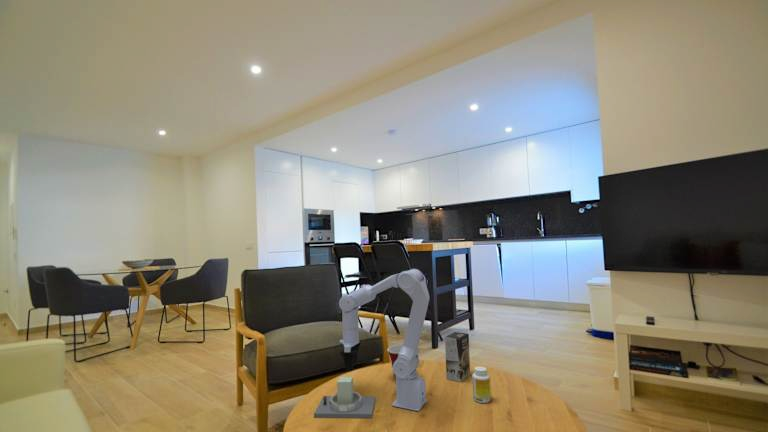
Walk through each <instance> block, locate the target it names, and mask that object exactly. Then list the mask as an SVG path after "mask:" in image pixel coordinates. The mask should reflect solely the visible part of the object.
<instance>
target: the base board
mask: <svg viewBox="0 0 768 432" xmlns="http://www.w3.org/2000/svg"><path fill="white" fill-rule="evenodd" d="M325 396H326V399H327V404H326V405H324V404H323V397H322V399H321V400H320V402H319V403H318V406H317V407H316V409H315V411H314V413H313V418H316V419H317V418H318V419H319V418H320V419H322V418H326V419H329V418H331V419H332V418H333V419H343V418H344V419H372V417H373V413H374V408H375V404H376V400H377V399H376V398H377V397H376V396H374V395H372V396H371V395H370V396H369V395H368V396H365V395H361V396H362V405H361V407H360V408H358V409H357V410H355V411H351V412H336V411H334V410H332V409H331V407H330V398H331V396H332V395H325ZM356 401H358V400H355V399H354V402H353V403H355V402H356ZM334 403H337V401H336V402H334ZM337 404H338V403H337Z"/></svg>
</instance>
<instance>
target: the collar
mask: <svg viewBox="0 0 768 432" xmlns="http://www.w3.org/2000/svg"><path fill="white" fill-rule="evenodd" d="M326 396H327V395H324V396H322V398H323V404H324V405H326V404H327V399H326ZM330 396H331V398H330V407H331V409H332V410H334V411H336V412H351V411H355V410H357V409H358V408H360V407H361V405H362V396H363V395H361V394H360V393H359V392H357V391H353V398H354V399H355V400H358V401H356V402H355V403H351V404H347V405H344V404H337V403H334V402H336V401H337V393H335V394H333V395H330Z"/></svg>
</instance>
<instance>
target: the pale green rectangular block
mask: <svg viewBox="0 0 768 432" xmlns="http://www.w3.org/2000/svg"><path fill="white" fill-rule="evenodd" d="M336 392H337V403H338V404H344V405H347V404H351V403H353V402H354V398H353V392H354V376H339V378H338V380H337V382H336Z"/></svg>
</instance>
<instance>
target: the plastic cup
mask: <svg viewBox="0 0 768 432" xmlns="http://www.w3.org/2000/svg"><path fill="white" fill-rule="evenodd" d="M402 346H403V343H402V344H401V343H399V344H395V345H392V346H388V348H387V350H386V351H387V352H388V355H389V358H390V361H391V367H392V368H393V364H394V362H395V361H396V360H397V358H398V354H399V352H400V350H401V348H402ZM393 376H394V380H396V375H395V374H394V373H393Z"/></svg>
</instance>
